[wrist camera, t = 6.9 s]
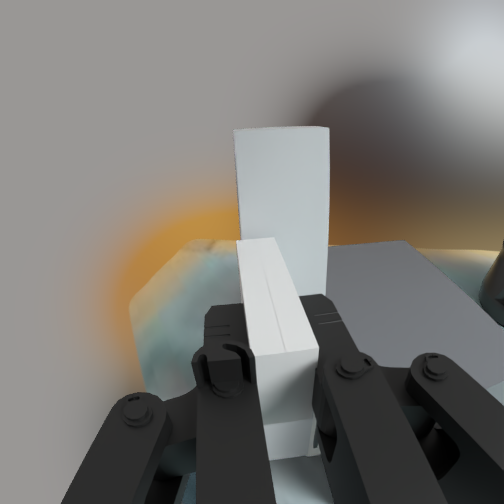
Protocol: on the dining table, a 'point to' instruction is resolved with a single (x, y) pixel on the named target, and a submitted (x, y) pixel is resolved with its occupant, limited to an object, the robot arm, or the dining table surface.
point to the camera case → (412, 311)
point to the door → (287, 227)
